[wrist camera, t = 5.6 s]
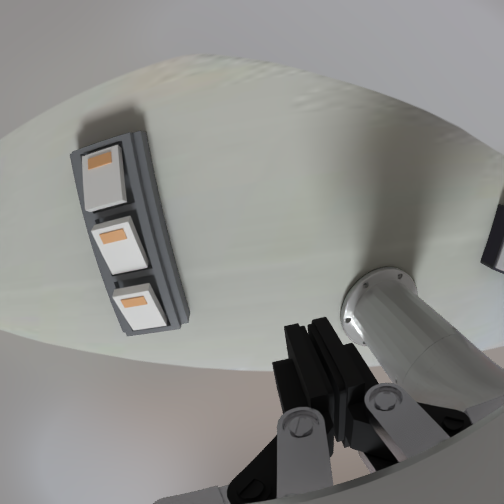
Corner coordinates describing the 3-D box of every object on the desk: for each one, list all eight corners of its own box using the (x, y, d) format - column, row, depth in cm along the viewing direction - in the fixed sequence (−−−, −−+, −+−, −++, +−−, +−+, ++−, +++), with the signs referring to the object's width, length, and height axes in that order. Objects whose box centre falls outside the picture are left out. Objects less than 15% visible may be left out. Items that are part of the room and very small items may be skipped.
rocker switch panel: (190, 312, 38) (187, 327, 35) (128, 322, 38) (121, 337, 35) (146, 132, 31) (137, 130, 27) (78, 153, 31) (65, 154, 27)
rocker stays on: (126, 201, 28) (122, 199, 27) (90, 212, 28) (84, 210, 27) (121, 148, 28) (117, 144, 27) (86, 159, 28) (81, 156, 27)
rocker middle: (148, 260, 33) (147, 268, 31) (114, 267, 32) (112, 275, 31) (130, 215, 29) (127, 222, 28) (94, 225, 29) (90, 232, 28)
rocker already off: (166, 317, 35) (166, 326, 34) (134, 322, 35) (133, 331, 34) (149, 282, 31) (148, 291, 30) (114, 289, 31) (112, 298, 30)
